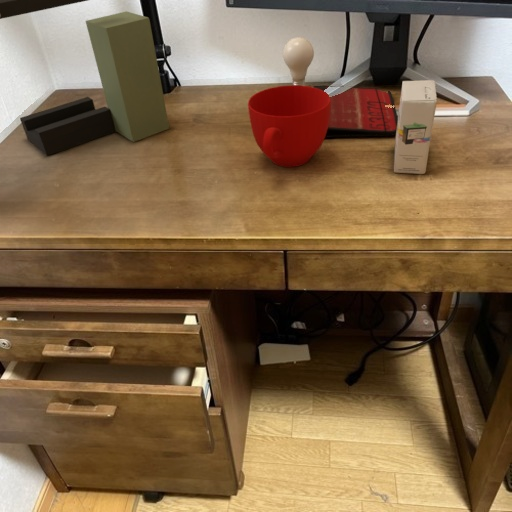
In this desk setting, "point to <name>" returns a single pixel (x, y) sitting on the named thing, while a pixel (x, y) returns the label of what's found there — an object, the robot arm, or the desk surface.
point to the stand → (129, 73)
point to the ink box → (414, 126)
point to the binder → (361, 113)
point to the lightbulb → (298, 58)
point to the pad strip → (30, 6)
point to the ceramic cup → (289, 122)
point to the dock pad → (67, 125)
